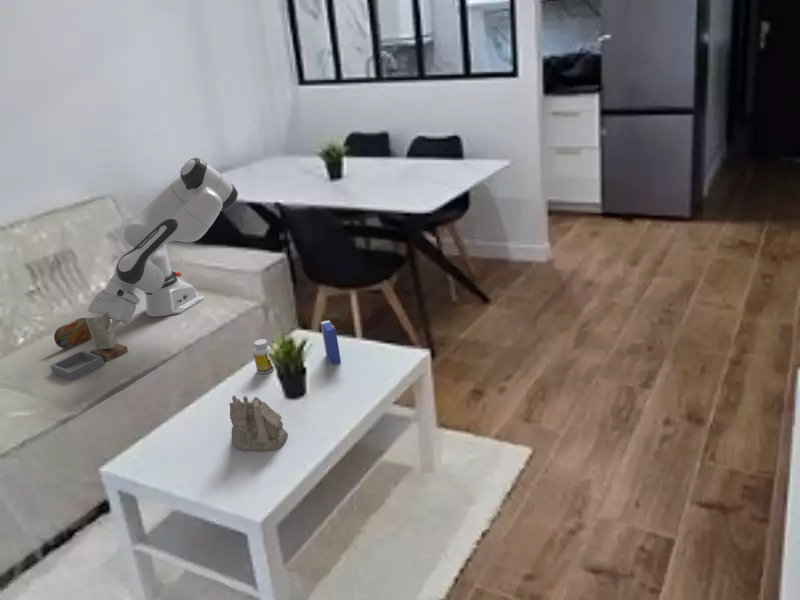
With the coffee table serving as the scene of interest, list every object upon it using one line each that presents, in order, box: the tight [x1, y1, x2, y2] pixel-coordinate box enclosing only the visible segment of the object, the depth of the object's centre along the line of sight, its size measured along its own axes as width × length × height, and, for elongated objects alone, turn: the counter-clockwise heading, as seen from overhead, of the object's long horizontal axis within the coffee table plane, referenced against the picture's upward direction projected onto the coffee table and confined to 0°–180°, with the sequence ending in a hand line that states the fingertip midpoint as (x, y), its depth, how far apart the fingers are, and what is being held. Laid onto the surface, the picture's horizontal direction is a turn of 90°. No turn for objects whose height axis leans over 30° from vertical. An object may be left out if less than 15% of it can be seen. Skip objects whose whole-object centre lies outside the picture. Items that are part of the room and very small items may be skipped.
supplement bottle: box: [253, 338, 274, 374], centre depth 231 cm, size 5×5×10 cm
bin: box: [49, 349, 105, 382], centre depth 247 cm, size 12×12×3 cm
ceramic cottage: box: [229, 394, 289, 453], centre depth 196 cm, size 16×16×15 cm
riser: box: [89, 343, 129, 362], centre depth 256 cm, size 8×10×2 cm
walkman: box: [320, 319, 342, 365], centre depth 232 cm, size 8×3×12 cm, turn 20°
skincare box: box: [85, 311, 118, 349], centre depth 252 cm, size 6×4×12 cm
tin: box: [53, 317, 92, 350], centre depth 266 cm, size 15×3×8 cm, turn 143°
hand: (101, 330), depth 252 cm, fingers closed on skincare box, 7 cm apart
